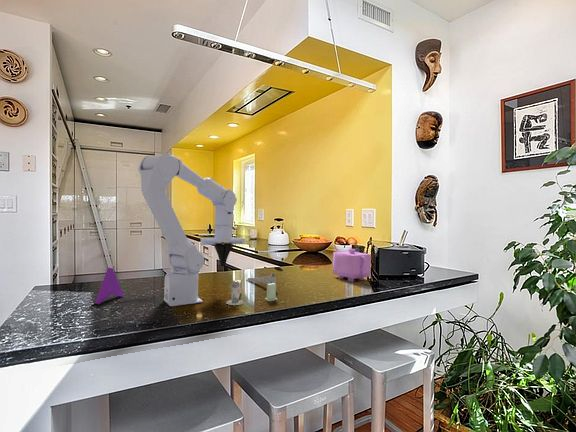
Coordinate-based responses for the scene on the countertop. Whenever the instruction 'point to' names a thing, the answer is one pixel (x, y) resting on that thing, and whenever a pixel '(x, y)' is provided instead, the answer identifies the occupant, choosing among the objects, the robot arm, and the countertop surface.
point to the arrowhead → (109, 287)
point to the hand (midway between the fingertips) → (222, 266)
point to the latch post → (271, 292)
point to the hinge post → (235, 294)
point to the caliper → (264, 279)
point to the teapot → (351, 264)
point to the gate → (239, 286)
